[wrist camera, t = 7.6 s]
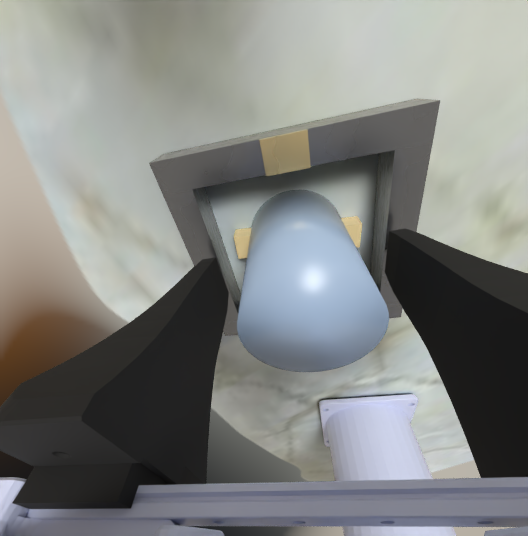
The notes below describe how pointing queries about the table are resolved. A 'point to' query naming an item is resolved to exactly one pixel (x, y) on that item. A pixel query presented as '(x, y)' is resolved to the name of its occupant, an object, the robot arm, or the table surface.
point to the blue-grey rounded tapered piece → (306, 286)
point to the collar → (302, 157)
